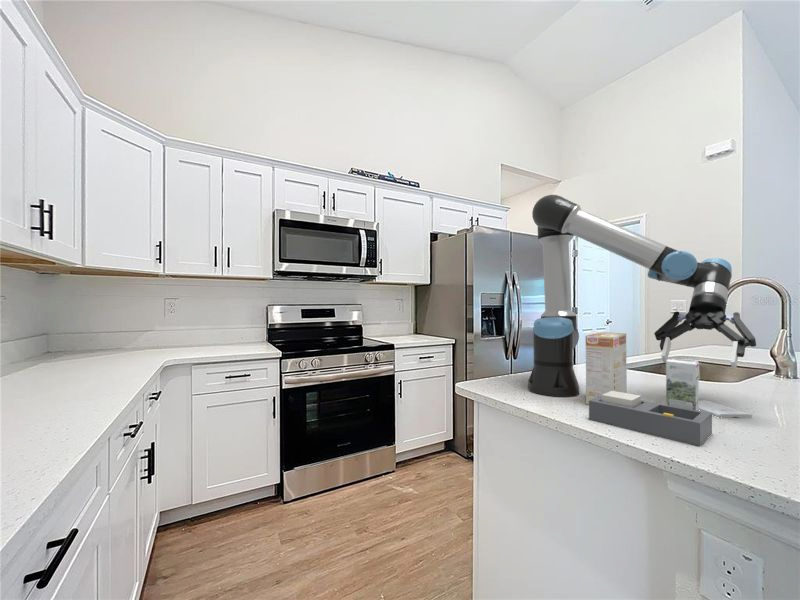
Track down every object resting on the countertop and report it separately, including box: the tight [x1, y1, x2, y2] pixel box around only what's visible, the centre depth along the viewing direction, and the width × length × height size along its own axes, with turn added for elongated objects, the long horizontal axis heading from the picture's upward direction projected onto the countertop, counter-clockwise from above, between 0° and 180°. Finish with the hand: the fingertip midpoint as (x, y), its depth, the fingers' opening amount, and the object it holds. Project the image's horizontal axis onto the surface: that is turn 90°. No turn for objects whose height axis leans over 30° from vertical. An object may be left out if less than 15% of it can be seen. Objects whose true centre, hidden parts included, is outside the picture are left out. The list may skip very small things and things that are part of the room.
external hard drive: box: [698, 399, 753, 419], centre depth 93 cm, size 2×8×12 cm
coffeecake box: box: [584, 331, 628, 406], centre depth 101 cm, size 15×7×20 cm, turn 134°
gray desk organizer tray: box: [588, 391, 713, 447], centre depth 81 cm, size 21×11×6 cm, turn 39°
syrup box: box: [665, 357, 700, 411], centre depth 85 cm, size 6×6×14 cm
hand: (696, 362), depth 89 cm, fingers open, 13 cm apart
